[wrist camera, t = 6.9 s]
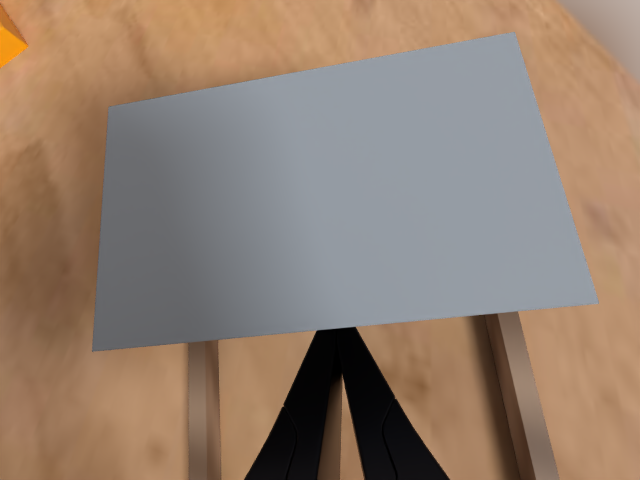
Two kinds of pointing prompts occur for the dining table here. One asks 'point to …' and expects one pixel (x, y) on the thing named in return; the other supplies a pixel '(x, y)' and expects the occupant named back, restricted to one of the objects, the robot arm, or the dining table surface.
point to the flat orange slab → (9, 39)
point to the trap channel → (513, 381)
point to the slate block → (335, 202)
